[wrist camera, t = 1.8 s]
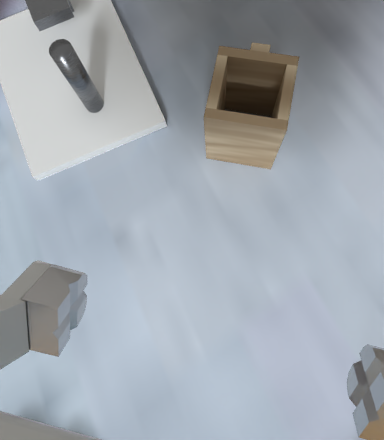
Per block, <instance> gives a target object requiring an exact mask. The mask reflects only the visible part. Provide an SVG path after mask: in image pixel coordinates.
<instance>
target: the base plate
mask: <svg viewBox="0 0 384 440" xmlns="http://www.w3.org/2000/svg"><path fill="white" fill-rule="evenodd" d="M70 2H71V4H72V7H73V9H74V12H73V15H74V18H71V19H69V20H67V21H64V22H62V23H59V24H57V25H54V26H52V27H50V28H47V29H45V30H42V31H39V30H38V28H37V27H36V25H35V24H34V22H33V19H32V17H31V14H30V11H29V9H27V10H25V11H22V12H20V13H17V14H15V15H12V16H10V17H8V18H5V19H3V20H0V83H1V86H2V89H3V92H4V95H5V98H6V100H7V103H8V106H9V109H10V112H11V115H12V118H13V121H14V124H15V127H16V130H17V133H18V136H19V139H20V142H21V145H22V148H23V150H24V153H25V156H26V159H27V162H28V165H29V168H30V171H31V174H32V177H33V178H35V179H36V180H38V181H39V180H42V179H44V178H47V177H49V176H51V175H54V174H56V173H58V172H61V171H63V170H65V169H68V168H70V167H72V166H75V165H77V164H80V163H82V162H84V161H87V160H89V159H91V158H94V157H96V156H98V155H101V154H103V153H105V152H108V151H110V150H112V149H115V148H117V147H120V146H122V145H124V144H127V143H129V142H131V141H134V140H136V139H138V138H141V137H143V136H145V135H148V134H150V133H153V132H155V131H157V130H160V129H162V128H164V127H167V124H166V121H165V118H164V116H163V114H162V112H161V110H160V107H159V105H158V103H157V101H156V99H155V96H154V94H153V92H152V90H151V88H150V85H149V83H148V81H147V79H146V76H145V74H144V72H143V70H142V68H141V65H140V63H139V61H138V59H137V57H136V54H135V52H134V50H133V48H132V46H131V43H130V41H129V39H128V37H127V35H126V32H125V30H124V28H123V26H122V24H121V21H120V19H119V17H118V15H117V13H116V10H115V8H114V6H113V4H112V2H111V0H70ZM58 39H66V40H68V41H69V42H70V43H71V45H72V46H73V48H74V50H75V52H76V53H77V55H78V57H79V59H80V61H81V62H82V64H83V66H84V68H85V69H86V71H87V73H88V75H89V76H90V78H91V80H92V82H93V84H94V85H95V87H96V89H97V91H98V92H99V94H100V96H101V98H102V99H103V102H104V106H103V108H102V109H101V110H100V111H99V112H97V113H91V112H89V111H88V110H87V109H86V108H85V106H84V105H83V103H82V102H81V100H80V99H79V97H78V96H77V94H76V93H75V91H74V90H73V88H72V87H71V85H70V84H69V82H68V81H67V80H66V78H65V77H64V75H63V74H62V72H61V71H60V69H59V68H58V66H57V65H56V63H55V62H54V60H53V59H52V57H51V56H50V54H49V47H50V45H51V44H52V43H53V42H54V41H56V40H58Z"/></svg>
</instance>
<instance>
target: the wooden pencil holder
mask: <svg viewBox="0 0 384 440" xmlns="http://www.w3.org/2000/svg"><path fill="white" fill-rule="evenodd" d="M269 51H270V45H267V44H259V43H252V44H251V49H250V50H246V49H239V48H232V47H224V46H219V50H218V54H217V59H216V63H215V68H214V73H213V77H212V82H211V86H210V91H209V95H208V100H207V104H206V109H205V114H204V129H205V144H206V158H208V159H214V160H220V161H226V162H231V163H237V164H243V165H249V166H255V167H261V168H267V169H271V167H272V165H273V162H274V160H275V158H276V155H277V153H278V150H279V148H280V146H281V143H282V141H283V138H284V136H285V134H286V131H287V126H288V120H289V114H290V108H291V102H292V97H293V91H294V85H295V79H296V73H297V67H298V61H299V57H297V56H290V55H283V54H276V53H269ZM225 109H226V110H232V111H239V112H245V113H252V114H258V115H264V116H271V118H270V117H263V116H257V115H250V114H244V113H238V112H231V111H225Z"/></svg>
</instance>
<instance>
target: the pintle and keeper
mask: <svg viewBox="0 0 384 440" xmlns="http://www.w3.org/2000/svg"><path fill="white" fill-rule="evenodd" d="M25 1H26V4H27V6H28V9H29V11H30V14H31V17H32V19H33V22H34V24H35V25H36V27H37V28H38V30H39V31H42V30H45V29H47V28H50V27H52V26H54V25H57V24H59V23H62V22H64V21H67V20H69V19H71V18H74V15H73V12H74V9H73V7H72V4H71V2H70V0H25ZM49 54H50V56H51V57H52V59H53V60H54V62H55V63H56V65H57V66H58V68H59V69H60V71H61V72H62V74H63V75H64V77H65V78H66V80H67V81H68V82H69V84H70V85H71V87H72V88H73V90H74V91H75V93H76V94H77V96H78V97H79V99H80V100H81V102H82V103H83V105H84V106H85V108H86V109H87V110H88V111H89V112H91V113H97V112H99V111H100V110H101V109H102V108H103V106H104V102H103V99H102V98H101V96H100V94H99V92H98V91H97V89H96V87H95V85H94V84H93V82H92V80H91V78H90V76H89V75H88V73H87V71H86V69H85V68H84V66H83V64H82V62H81V61H80V59H79V57H78V55H77V53H76V52H75V50H74V48H73V46H72V45H71V43H70V42H69V41H68V40H66V39H58V40H56V41H54V42H53V43H52V44H51V45H50V47H49Z"/></svg>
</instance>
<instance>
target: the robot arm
mask: <svg viewBox="0 0 384 440" xmlns="http://www.w3.org/2000/svg"><path fill="white" fill-rule="evenodd" d="M86 285H87V275H86V274H85V273H83V272H79V271H75V270H72V269H68V268H65V267H61V266H57V265H52V264H49V263H45V262H42V261H35V262H33V263H32V264H31V265H30V266H29V267H28V268H27V269H26V270H25V271H24V272H23V273H22V274H21V275H20V276H19V277H18V278H17V279H16V280H15V281H14V282H13V283H12V285H11V286H10V287H9V288H8V289H7V290H6V291H5V292H4V293H3V294H2V295H0V369H2V368H4V367H5V366H7V365H8V364H10V363H12V362H13V361H15V360H16V359H18V358H19V357H21V356H23V355H24V354H26V353H27V352H29V350H32V351H37V352H41V353H45V354H49V355H54V356H58V357H59V355H60V354H61V352H62V350H63V349H64V347H65V345H66V344H67V342H68V341H69V339H70V330H72V329H74V328H75V327H77V326H78V324H79V322H80V321H81V319H82V316H83V314H84V311H85V307H86V302H87V295H86V294H85V292H84V291H83V290H84V289H85V287H86ZM359 354H360V357H361V361H359V362H357V363H354V364H353V365H352V367H351V369H350V371H349V373H348V379H347V391H348V395H349V399H350V400H351V401H352V402H353V404H354V405H355V406H356V409H355V410H354V412H353V417H354V421H355V425H356V429H357V433H358V437H359V438H363V439H366V440H384V348H380V347H376V346H372V345H368V344H367V345H366V346H365V347H363V349H362V350H361V352H360V353H359ZM0 440H101V439H98V438H94V437H91V436H87V435H84V434H80V433H77V432H73V431H69V430H66V429H62V428H59V427H55V426H52V425H48V424H45V423H41V422H37V421H34V420H30V419H27V418H23V417H20V416H16V415H13V414H9V413H5V412H2V411H0Z"/></svg>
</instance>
